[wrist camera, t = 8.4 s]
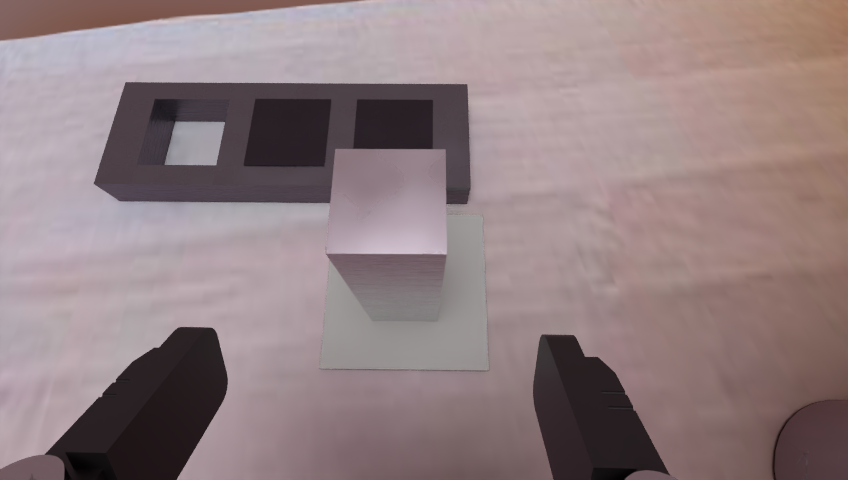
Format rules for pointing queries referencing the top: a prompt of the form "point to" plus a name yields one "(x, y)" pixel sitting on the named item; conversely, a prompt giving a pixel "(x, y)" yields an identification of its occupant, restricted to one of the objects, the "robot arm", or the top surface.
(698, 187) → the top surface
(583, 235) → the top surface
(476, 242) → the mat
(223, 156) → the dark grey slotted tray
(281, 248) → the top surface
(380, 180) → the steel plug
